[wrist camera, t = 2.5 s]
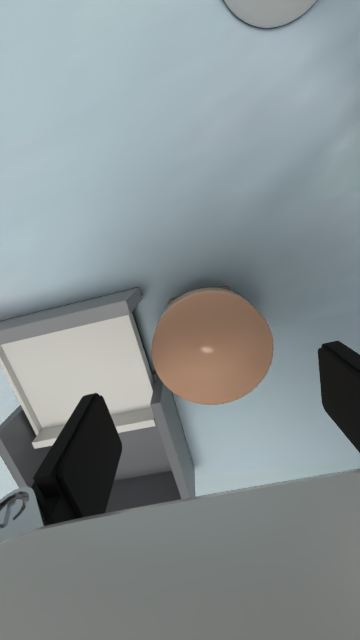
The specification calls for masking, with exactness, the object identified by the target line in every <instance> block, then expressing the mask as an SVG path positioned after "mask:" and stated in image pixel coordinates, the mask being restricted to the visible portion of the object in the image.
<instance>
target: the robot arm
mask: <svg viewBox="0 0 360 640" xmlns="http://www.w3.org/2000/svg"><path fill="white" fill-rule="evenodd" d="M318 358H319V371H320V383H321V396H322V404H323V407H324V409H325V411H326V412H327V413H328V415H329V416H330V417H331V418H332V420H333V421H334V422H335V423H336V424H337V426H338V427H339V428H340V429H341V430H342V432H343V433H344V434H345V435H346V437H347V438H348V439H349V440H350V441H351V443H352V444H353V445H354V446H355V447H356V449H357V450H358V451H359V452H360V355H359V354H358V353H356V352H355V351H353V350H352V349H350V348H349V347H347V346H346V345H344V344H343V343H341V342H340V341H334V342H330V343H325V344H323V345H322V348H319V349H318ZM121 453H122V442H121V440H120V437H119V435H118V432H117V430H116V427H115V425H114V422H113V420H112V417H111V415H110V412H109V410H108V407H107V405H106V403H105V400H104V398H103V396H102V395H100V396H99V394H98V393H93V394H89V395H84V396H83V397H82V398H81V400H80V401H79V403H78V405H77V406H76V408H75V410H74V411H73V413H72V414H71V416H70V418H69V419H68V421H67V423H66V424H65V426H64V428H63V429H62V431H61V432H60V434H59V436H58V437H57V439H56V441H55V442H54V444H53V446H52V447H51V449H50V450H49V452H48V454H47V455H46V457H45V459H44V460H43V462H42V464H41V465H40V467H39V469H38V470H37V472H36V473H35V475H34V477H33V479H34V483H33V485H32V486H31V488H29V487H22V488H19V489H16V490H14V491H12V492H10V493H9V494H7V495H6V496H4V497H3V498H2V499H1V500H0V640H360V469H355V470H349V471H343V472H337V473H331V474H325V475H319V476H313V477H307V478H301V479H295V480H289V481H283V482H277V483H271V484H266V485H260V486H254V487H248V488H243V489H237V490H231V491H225V492H220V493H214V494H208V495H203V496H197V497H191V498H186V499H180V500H175V501H169V502H164V503H158V504H153V505H147V506H142V507H136V508H131V509H125V510H120V511H114V512H109V513H105V511H106V508H107V504H108V500H109V497H110V493H111V489H112V486H113V482H114V478H115V475H116V471H117V467H118V464H119V460H120V456H121Z"/></svg>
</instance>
